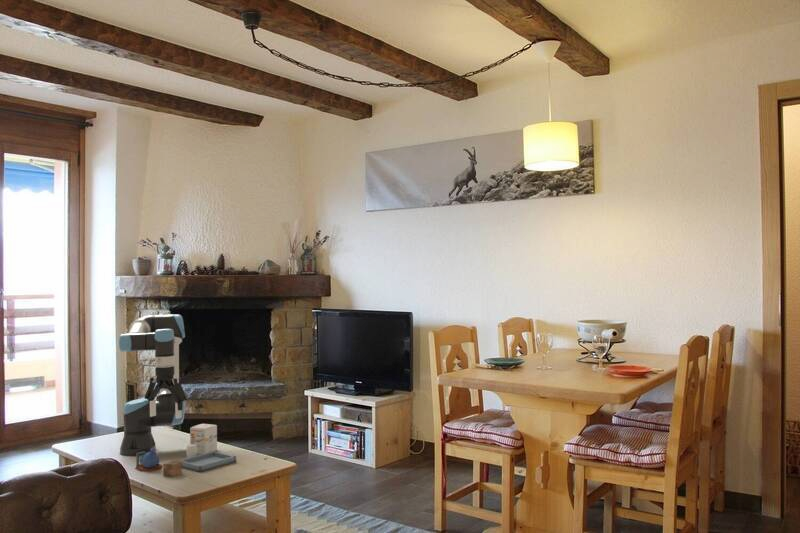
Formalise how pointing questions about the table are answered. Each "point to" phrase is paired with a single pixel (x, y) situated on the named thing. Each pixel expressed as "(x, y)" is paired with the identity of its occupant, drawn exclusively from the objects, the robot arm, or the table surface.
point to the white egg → (191, 450)
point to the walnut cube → (172, 468)
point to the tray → (207, 461)
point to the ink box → (204, 438)
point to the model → (148, 461)
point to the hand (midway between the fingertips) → (165, 417)
